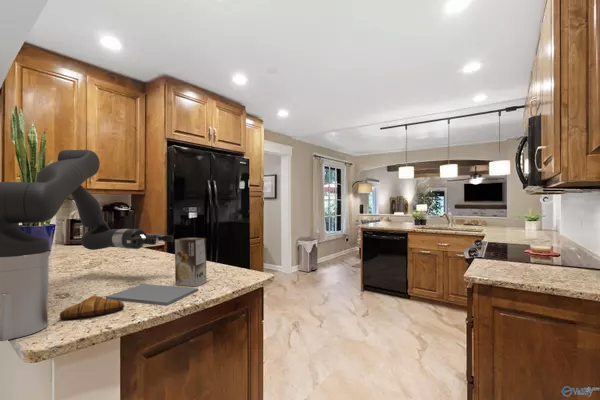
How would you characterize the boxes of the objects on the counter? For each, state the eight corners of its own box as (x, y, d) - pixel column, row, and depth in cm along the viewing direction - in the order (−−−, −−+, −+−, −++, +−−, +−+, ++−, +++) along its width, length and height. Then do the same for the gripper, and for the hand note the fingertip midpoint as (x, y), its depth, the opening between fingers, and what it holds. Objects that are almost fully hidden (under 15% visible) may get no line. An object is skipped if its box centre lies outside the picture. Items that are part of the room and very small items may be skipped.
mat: (166, 305, 79) (166, 302, 79) (105, 299, 85) (105, 296, 85) (198, 290, 92) (198, 288, 92) (143, 286, 98) (143, 283, 98)
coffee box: (207, 282, 103) (207, 237, 103) (196, 287, 97) (196, 239, 97) (186, 280, 105) (186, 237, 106) (174, 285, 99) (174, 239, 100)
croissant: (124, 306, 79) (124, 288, 79) (123, 314, 73) (123, 294, 73) (62, 315, 72) (62, 296, 72) (56, 325, 67) (56, 304, 67)
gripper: (112, 230, 102) (148, 231, 98) (144, 227, 116) (177, 228, 112) (112, 251, 102) (148, 253, 98) (144, 245, 116) (177, 247, 112)
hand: (164, 240), depth 105 cm, fingers open, 8 cm apart
